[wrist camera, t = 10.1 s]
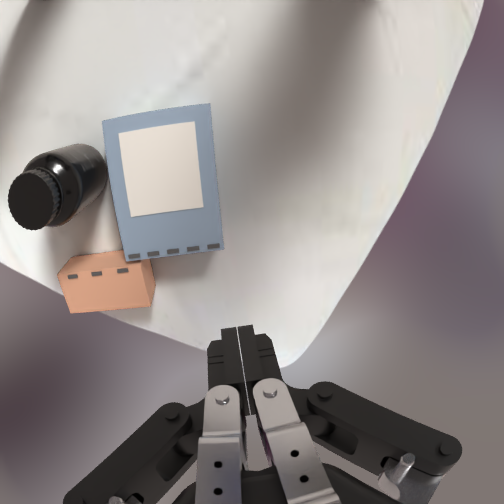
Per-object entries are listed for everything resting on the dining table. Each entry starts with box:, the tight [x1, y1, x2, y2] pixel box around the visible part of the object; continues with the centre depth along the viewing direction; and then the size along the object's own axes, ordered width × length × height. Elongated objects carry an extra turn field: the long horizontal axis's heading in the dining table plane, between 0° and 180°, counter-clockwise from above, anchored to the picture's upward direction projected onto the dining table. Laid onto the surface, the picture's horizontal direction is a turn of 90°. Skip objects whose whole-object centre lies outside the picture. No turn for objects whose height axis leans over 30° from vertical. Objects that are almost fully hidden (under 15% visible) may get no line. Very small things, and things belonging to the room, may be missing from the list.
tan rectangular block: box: [57, 250, 156, 313], centre depth 33 cm, size 10×5×5 cm, turn 94°
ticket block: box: [102, 103, 224, 261], centre depth 30 cm, size 10×14×5 cm
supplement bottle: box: [8, 144, 107, 230], centre depth 25 cm, size 7×7×12 cm
